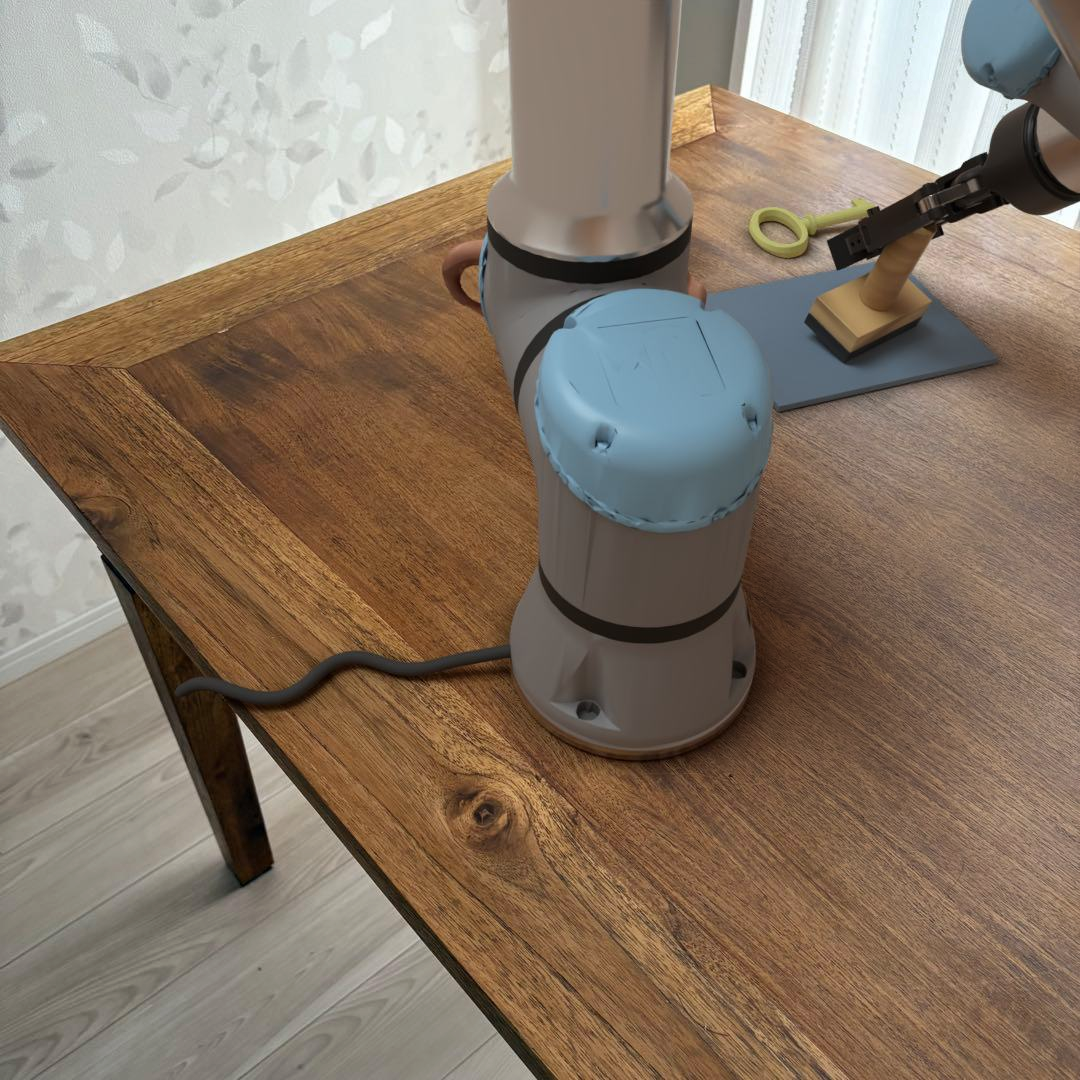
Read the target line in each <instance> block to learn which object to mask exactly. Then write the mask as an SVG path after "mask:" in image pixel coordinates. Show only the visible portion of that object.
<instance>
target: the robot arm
mask: <svg viewBox="0 0 1080 1080" xmlns="http://www.w3.org/2000/svg"><path fill="white" fill-rule="evenodd" d="M682 7H683V0H506V18H507V21H506V22H507V23H506V24H507V44H508V45H507V51H508V52H507V54H508V83H509V84H508V85H509V111H510V113H509V114H510V115H509V116H510V144H511V145H510V147H511V148H510V149H511V167H510V168H509V169H508V170H507V171H506V172H504V173H503V174H502V175H501V176H500V177H499V178H498V179H497V180H496V181H495V182H494V183H493V185H492V186H491V188H490V189H489V191H488V194H487V197H486V202H485V203H486V205H485V206H486V207H485V208H486V227H487V228H486V230H487V231H486V233H485V236H484V238H483V239H484V241H483V244H482V248H481V253H480V260H479V266H478V282H477V283H478V286H477V287H478V294H479V303H481V307H482V311H483V315H484V317H483V318H484V321H485V324H486V326H487V328H488V330H489V333H490V335H491V337H492V338H493V342H494V345H495V348H496V351H497V354H498V356H499V360H500V363H501V366H502V370H503V372H504V376H505V379H506V382H507V386H508V388H509V391H510V394H511V398H512V401H513V404H514V407H515V410H516V413H517V416H518V419H519V422H520V427H521V429H522V432H523V436H524V439H525V442H526V446H527V449H528V453H529V456H530V459H531V462H532V466H533V470H534V476H535V481H536V490H537V506H538V507H537V508H538V509H537V528H538V529H537V549H538V551H537V553H538V563H537V564H536V567H535V568H534V571H533V573H532V574H531V578H530V580H529V581H528V584H527V585H526V588H525V590H524V592H523V595H522V596H521V598H520V600H519V602H518V603H517V606H516V609H515V611H514V613H513V617H512V621H511V624H510V629H509V635H508V643H507V644H502V645H497V646H496V645H495V646H490V647H486V648H485V647H484V648H479V649H474V650H473V649H472V650H469V651H462V652H457V653H453V654H449V655H445V656H441V657H438V658H434V659H430V660H424V661H423V660H422V661H415V662H413V661H412V662H409V661H406V662H405V661H398V660H394V659H391V658H388V657H385V656H383V655H381V654H377V653H373V652H369V651H366V650H364V651H363V650H347V651H343V652H339V653H336V654H334V655H331V656H329V657H327V658H325V659H324V660H323V661H321V662H320V663H318V664H317V665H316V666H315V667H314V668H312V669H311V670H310V671H309V672H307V674H305V675H304V676H303V677H302V678H300V680H298V681H297V682H295V683H294V684H292V685H290V686H288V687H286V688H283V689H279V690H273V691H272V690H271V691H266V690H265V691H263V690H255V689H251V688H248V687H244V686H241V685H238V684H236V683H233V682H230V681H227V680H226V681H225V680H223V679H219V678H217V677H212V676H196V677H193V678H190V679H188V680H186V681H184V682H182V683H181V684H179V685H178V686H177V687H176V688H175V690H174V695H175V697H178V698H184V697H185V698H186V697H188V696H190V695H191V694H193V693H196V692H203V691H206V692H213V693H216V694H219V695H223V696H225V697H228V698H231V699H233V700H235V701H236V700H237V701H240V702H243V703H247V704H251V705H257V706H258V705H259V706H276V705H277V706H278V705H282V704H286V703H290V702H293V701H295V700H297V699H298V698H300V697H302V696H303V695H305V694H306V693H308V692H309V691H310V690H311V689H312V688H314V687H315V686H316V685H317V684H318V683H319V682H320V681H322V680H323V678H324V677H326V676H327V675H328V674H330V673H331V672H333V671H335V670H336V669H338V668H341V667H344V666H348V665H363V666H368V667H371V668H375V669H377V670H380V671H383V672H386V673H389V674H392V675H397V676H404V677H419V676H426V675H427V676H428V675H432V674H437V673H440V672H441V673H442V672H445V671H448V670H449V671H450V670H452V669H456V668H460V667H466V666H472V665H477V664H482V663H487V662H493V661H500V660H506V659H508V663H509V672H510V676H511V680H512V683H513V687H514V689H515V691H516V693H517V696H518V697H519V699H520V701H521V703H522V704H523V706H524V707H525V709H526V710H527V711H528V713H529V714H530V715H531V716H532V717H533V719H534V720H535V721H537V722H538V723H539V724H540V725H541V726H542V727H543V728H544V729H545V730H547V731H548V732H549V733H551V734H552V735H554V736H555V737H556V738H558V739H560V740H561V741H563V742H565V743H567V744H569V745H570V746H573V747H575V748H577V749H579V750H581V751H585V752H588V753H589V754H590V753H591V754H594V755H597V756H601V757H605V758H611V759H617V760H626V761H650V760H651V761H652V760H659V759H666V758H671V757H674V756H679V755H681V754H684V753H687V752H690V751H693V750H695V749H697V748H699V747H702V746H704V745H706V744H708V742H710V741H712V740H714V739H715V738H716V737H717V736H719V735H720V734H722V733H723V732H724V731H725V730H726V729H727V728H728V727H729V726H730V725H731V724H732V723H733V722H734V721H735V720H736V719H737V717H738V715H739V714H740V712H741V711H742V710H743V707H744V705H745V703H746V702H747V700H748V697H749V694H750V691H751V687H752V683H753V678H754V675H755V670H756V662H757V652H756V651H757V650H756V649H757V648H756V647H757V646H756V636H755V631H754V626H753V622H752V620H753V618H752V617H751V616H752V614H751V613H750V612H751V611H750V609H749V607H750V605H748V604H749V603H748V601H747V600H746V597H747V595H746V594H745V593H746V591H745V590H743V589H745V588H744V586H742V584H741V582H742V577H743V572H744V568H745V563H746V559H747V553H748V548H749V544H750V538H751V533H752V528H753V524H754V519H755V514H756V510H757V505H758V501H759V500H758V499H759V495H760V491H761V485H762V481H763V475H764V473H765V470H766V468H767V465H768V462H769V458H770V453H771V452H772V442H773V436H774V430H775V429H774V428H775V424H774V421H773V414H774V411H773V410H774V406H773V402H774V390H773V382H772V376H771V372H770V369H769V365H768V363H767V360H766V358H765V356H764V354H763V352H762V350H761V348H760V347H759V345H758V344H757V342H756V341H755V339H754V338H753V337H752V336H751V334H750V333H749V332H748V331H747V330H746V329H745V328H744V327H743V326H742V325H741V324H740V323H739V322H738V321H736V320H735V319H734V318H733V317H731V316H730V315H729V314H727V313H726V312H724V311H722V310H721V309H719V310H715V311H712V312H709V311H704V302H703V301H702V300H700V299H698V298H696V297H693V296H689V295H688V288H687V274H688V271H689V262H690V251H691V241H692V229H693V220H694V208H695V207H694V198H693V195H692V192H691V190H690V189H689V187H688V186H687V184H686V183H685V182H684V181H683V180H682V179H681V178H680V177H679V176H678V175H677V174H676V173H675V172H674V171H673V170H671V169H670V164H671V151H672V150H671V149H672V138H673V137H672V136H673V124H674V111H675V110H674V109H675V98H676V87H677V86H676V84H677V74H678V73H677V70H678V60H679V45H680V33H681V19H682ZM960 38H961V40H960V42H961V43H960V49H961V50H960V51H961V58H962V59H961V60H962V63H963V66H964V69H965V71H966V73H967V74H968V76H969V77H970V78H971V79H972V81H973V82H975V84H978V85H979V86H982V87H984V88H986V89H989V90H992V91H994V92H997V93H1000V94H1001V95H1002V97H1003V98H1004V99H1007V100H1010V101H1014V100H1021V101H1025V103H1024V104H1023V103H1022V104H1021V105H1019V106H1018V107H1016V108H1014V109H1012V110H1011V111H1009V112H1007V113H1006V114H1005V115H1003V116H1002V117H1001V118H1000V120H999V121H998V122H997V124H996V125H995V127H994V130H993V132H992V134H991V137H990V141H989V146H988V151H984V152H981V153H979V154H977V155H974V156H972V157H971V158H969V159H967V160H965V161H964V162H962V164H961V165H960V167H958V168H957V169H954V170H952V171H950V172H948V173H945V174H944V175H942V176H940V177H938V178H937V179H935V181H932V182H930V181H929V182H926V183H924V184H922V186H920V187H919V188H917V190H915V191H913V192H911V194H908V195H907V196H905V197H903V198H901V199H899V200H897V201H896V202H894V203H892V204H890V205H888V206H886V207H884V208H881V209H880V205H877V206H876V205H875V207H873V208H870V209H868V210H866V211H867V214H868V217H865V218H861V220H858V222H857V224H856V225H853V226H852V227H851V228H849V229H847V230H844V231H843V232H841V233H839V234H836V235H834V236H833V237H831V238H829V239H827V240H826V243H827V247H828V250H829V252H830V255H831V258H832V261H833V262H834V263H833V264H834V267H835V270H836V269H837V271H838V270H841V269H844V268H846V267H851V266H854V264H857V263H859V262H861V261H864V260H866V261H869V260H871V259H874V258H877V257H879V256H880V254H881V253H882V251H883V249H884V247H885V245H887V244H889V243H891V242H893V241H895V240H897V239H899V238H901V237H904V236H906V235H908V234H910V233H912V232H914V231H916V230H918V229H920V228H922V227H923V228H927V227H929V226H932V225H935V224H936V226H937V231H936V233H935V234H934V236H933V238H932V239H931V241H933V240H936V239H939V238H940V237H944V236H945V231H944V229H943V226H945V225H946V224H954V223H958V222H960V221H963V220H966V219H967V218H969V217H972V216H975V215H977V214H978V215H983V214H986V213H988V212H992V211H994V210H997V209H999V208H1001V207H1004V206H1008V205H1011V206H1012V207H1013V208H1015V209H1017V210H1018V211H1020V212H1022V213H1024V214H1028V215H1030V216H1038V217H1039V216H1048V215H1051V214H1054V213H1056V212H1058V211H1061V210H1063V209H1065V208H1068V207H1071V206H1072V205H1075V204H1077V203H1080V0H971V1H970V3H969V6H968V8H967V11H966V14H965V16H964V22H963V24H962V31H961V37H960ZM746 601H747V602H746Z"/></svg>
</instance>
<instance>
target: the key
mask: <svg viewBox="0 0 1080 1080" xmlns="http://www.w3.org/2000/svg"><path fill="white" fill-rule="evenodd" d="M850 205H852V206H853V207H849V208H845V209H841V210H835V211H833V212H828V213H825V214H820V215H816V216H814V215H813V214H812V213H807V214H805V216H804V218H803V219H800V217H798V216H797V215H796V214H795V213H793V212H791V211H790V210H788V209H785V208H782V207H777V206H767V207H762V208H760V209H757V210H755V212H754V213H753V214H752V215H751V218H750V220H749V224H748V231H749V234H750V236H751V238H752V239H753V241H754V242H755V243H756V244H757V246H759V247H760V248H761V249H762V250H764V251H765V252H767V253H769V254H771V255H773V256H776V257H779V258H784V259H786V258H787V259H790V258H791V259H792V258H795V257H799V256H801V255H803V254H804V253H805V252H806V250H807V248H808V244H809V239H810V238H809V235H810V236H812V235H815V234H816V232H817V230H820V229H825V228H828V227H831V226H832V227H833V226H836V225H840V224H845V223H849V222H852V221H853V222H854V221H857V220H860V219H861V220H862V219H863V218H865V217H868V214H867V211H866V210H868V209H870V208H873V207H876V204H875V203H874V202H870V203H869V202H867V201H866V200H865V199H864V197H863V196H861V197H859V198H858V199H856V198H853V199H851V200H850ZM771 221H772V222H776V223H777V222H778V223H781V224H783V225H785V226H786V227H788V228H789V229H790V230H792V232H793V233H794V234H795V235H796V236H797V238H798V240H797V241H795V242H793V243H779V242H776V241H775V240H772V239H771V238H769V237H767V236H766V235H765V234H764V233H763V231H761V227H760V224H761V223H764V222H771Z"/></svg>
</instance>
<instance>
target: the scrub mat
mask: <svg viewBox="0 0 1080 1080" xmlns="http://www.w3.org/2000/svg"><path fill="white" fill-rule="evenodd" d="M875 263H876V261H871V262H867V263H862V264H857V265H850V266H848V267H846V268H844V269H841V270H838V271H837V269H836V268H835V269H832V270H826V271H820V272H816V273H811V274H805V275H800V276H794V277H790V278H785V279H780V280H775V281H770V282H764V283H760V284H754V285H749V286H743V287H739V288H738V287H737V288H733V289H729V290H723V291H717V292H713V293H707V299H706V305H705V309H704V311H709V312H712V311H715V310H719V309H721V310H722V311H724V312H726V313H727V314H729V315H730V316H731V317H733V318H734V319H735V320H736V321H738V322H739V323H740V324H741V325H742V326H743V327H744V328H745V329H746V330H747V331H748V332H749V333H750V334H751V336H752V337H753V338H754V339H755V341H756V342H757V344H758V345H759V347H760V348H761V350H762V352H763V354H764V356H765V358H766V360H767V363H768V365H769V369H770V372H771V376H772V382H773V390H774V402H773V409H775V410H776V412H778V413H779V412H784V411H789V410H793V409H798V408H802V407H806V406H811V405H815V404H821V403H825V402H828V401H833V400H839V399H843V398H847V397H852V396H857V395H861V394H865V393H869V392H874V391H879V390H883V389H887V388H891V387H897V386H901V385H906V384H910V383H914V382H918V381H922V380H923V381H924V380H927V379H933V378H937V377H942V376H945V375H950V374H955V373H958V372H959V373H960V372H963V371H968V370H972V369H976V368H982V367H986V366H991V365H994V364H997V362H998V359H999V357H998V356H997V355H996V354H995V353H994V352H993V351H992V350H991V349H990V348H989V347H988V346H987V345H986V344H985V343H984V342H983V341H982V340H981V339H980V338H978V337H977V335H975V334H974V332H972V331H971V329H969V328H968V327H967V326H966V325H965V324H964V323H963V322H962V321H961V320H960V319H959V318H958V317H957V316H956V315H955V314H954V313H952V312H951V310H950V309H949V308H948V307H946V306H945V304H943V303H942V302H941V301H940V300H939V298H937V297H936V296H935V294H933V293H932V292H931V291H930V290H929V289H928V288H927V287H926V286H925V285H924V284H923V283H922V282H921V281H920V280H919V279H918V278H917V277H915V276H914V275H913V274H912V273H911V274H910V276H909V278H908V279H909V280H910V281H911V282H912V283H913V284H914V285H915V286H917V287H918V288H919V289H920V290H921V291H922V292H923V293H924V294H925V295H926V296H927V297H928V298H929V299H930V300H932V302H931V304H930V305H929V307H928V309H927V310H926V312H925V313H924V315H923V316H922V318H921V320H920V321H919V323H918V324H917V326H916V327H914V328H912V329H910V330H908V331H906V332H904V333H902V334H900V335H898V336H896V337H894V338H892V339H890V340H888V341H886V342H884V343H882V344H880V345H878V346H876V347H874V348H872V349H870V350H868V351H866V352H864V353H862V354H860V355H858V356H857V357H855V358H853V359H851V360H849V361H847V362H845V363H844V362H843V361H842V360H841V359H840V358H839V357H838V356H837V355H836V354H835V353H834V352H833V351H832V350H831V349H830V348H829V347H828V346H827V345H826V344H825V343H824V342H823V341H822V340H821V339H820V338H819V337H818V336H817V335H816V334H815V333H814V332H813V331H812V330H811V329H810V328H809V327H808V326H807V325H806V324H805V323H804V321H805V319H806V317H807V315H808V313H809V311H810V310H811V308H812V306H813V304H814V302H815V300H816V298H817V297H818V296H820V295H822V294H824V293H826V292H828V291H831V290H833V289H835V288H837V287H839V286H841V285H844V284H846V283H848V282H850V281H852V280H854V279H857V278H859V277H861V276H863V275H865V274H867V273H869V272H871V270H872V269H873V267H874V265H875Z"/></svg>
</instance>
